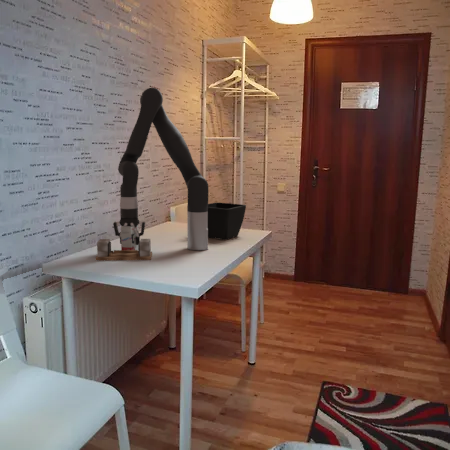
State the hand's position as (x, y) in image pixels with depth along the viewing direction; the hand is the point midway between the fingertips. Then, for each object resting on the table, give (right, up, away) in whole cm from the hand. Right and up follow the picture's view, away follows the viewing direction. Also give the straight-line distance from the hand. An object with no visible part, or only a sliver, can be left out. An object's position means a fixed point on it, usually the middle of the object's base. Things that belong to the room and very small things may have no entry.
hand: (129, 244), depth 196 cm
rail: (0, -5, -10) cm, 11 cm away
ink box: (0, -3, +1) cm, 3 cm away
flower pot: (+40, +2, +38) cm, 55 cm away
